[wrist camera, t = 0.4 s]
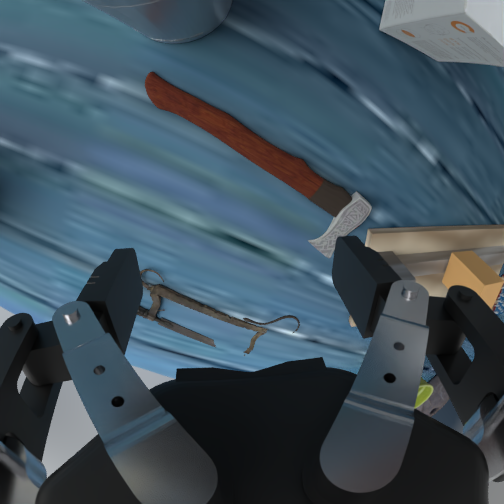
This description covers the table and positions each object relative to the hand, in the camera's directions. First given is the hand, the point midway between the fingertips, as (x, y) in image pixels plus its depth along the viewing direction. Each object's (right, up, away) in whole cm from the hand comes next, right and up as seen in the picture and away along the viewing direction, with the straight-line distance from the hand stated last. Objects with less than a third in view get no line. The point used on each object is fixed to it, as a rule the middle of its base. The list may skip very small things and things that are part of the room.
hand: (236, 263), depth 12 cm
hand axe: (0, +8, +18) cm, 19 cm away
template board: (+28, -2, +26) cm, 38 cm away
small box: (+17, +24, +9) cm, 31 cm away
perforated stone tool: (+40, -28, +43) cm, 65 cm away
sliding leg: (+27, -3, +23) cm, 36 cm away
